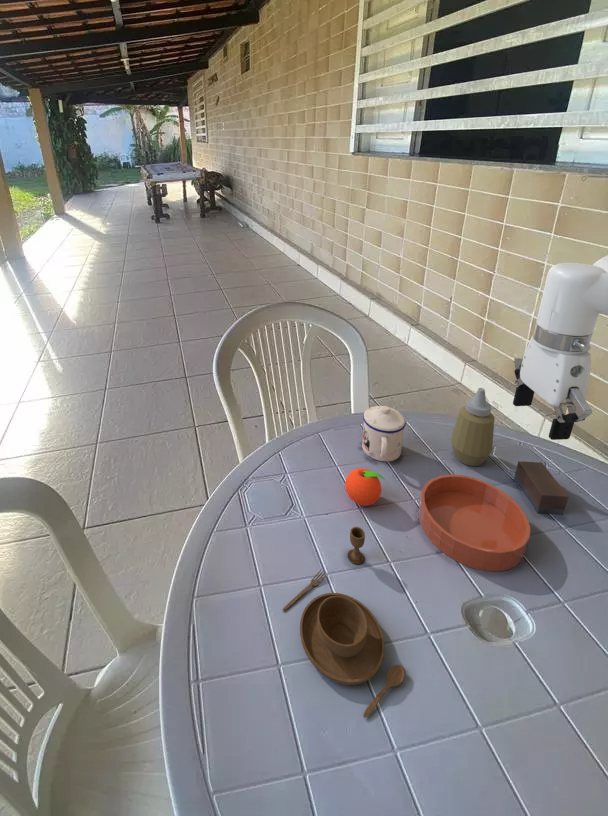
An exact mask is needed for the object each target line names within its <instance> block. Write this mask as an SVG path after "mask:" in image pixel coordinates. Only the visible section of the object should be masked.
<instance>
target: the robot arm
mask: <svg viewBox="0 0 608 816" xmlns="http://www.w3.org/2000/svg"><path fill="white" fill-rule="evenodd" d="M599 315H606V316H608V255H605V256H603V257H601V258H600V259H598V260H596V261H595V262H594V263H593V264H589V263H582V262H560V263H556V264H554V265H553V266H551V267H550V269H549V270H548V272H547V274H546V278H545V283H544V287H543V292H542V296H541V300H540V304H539V309H538V313H537V317H536V320H535V325H534V330H533V334H532V336H531V338H530V340H529V342H528V344H527V347H526V349H525V351H524V354H523V357H515V358H514V360H513V362H514V376H515V378H516V380H515V381H514V384H515V385H514V386H516V388H515V392H514V397H513V401H512V405H513V406H514V407H531V406H532V404H533V399H534V395H535V394H536V395H537V396H539V397H540V398H541V399H543V401H545V402H546V403H548V404H549V405H551V406H552V407H553V409H554V414H555V416H556V417H555V418H553V419H552V422H551V425H550V426H551V427H550V429H549V433H548V439H550V440H551V441H559V440H560V441H561V440H569V439H570V438H571V435H572V432H573V429H574V425H575V423H579V422H583V421H585V420H586V419H587V418H588V417H590V416H591V415H592V414H593V410H592V408H591V407H590V405H589V403H588V402H587V400H586V396H587V392H588V387H589V382H590V377H591V368H592V367H591V365H592V355H591V353H590V352H589V351H590V350H591V349H592V347H591V345H590V344H591V341H592V337H593V334H594V330H595V327H596V324H597V320H598V318H599V317H598V316H599ZM564 401H565V402H564ZM563 408H566V409H567V412H568V413H565V412H564V409H563Z"/></svg>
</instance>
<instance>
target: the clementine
mask: <svg viewBox="0 0 608 816" xmlns="http://www.w3.org/2000/svg"><path fill="white" fill-rule="evenodd" d="M379 478H380V479H383V480H384V481H386V479H385V477H384V476H382V475H381V474H380V473H377V472H376V471H372V470H371V469H368V468H364V467H359V468H355V469H353V470H351V471H349V473H348V474H347V476H346V478H345V482H344V486H345V487H344V488H345V492H346V494H347V496H348V497H349V498H350V500H351V501H353V502H354V503H355V504H357V505H360V506H363V507H364V506H365V507H366V506H371V505H374V504H375V503H377V501H378V500H379V499H380V497H381V495H382V484H381V481H380V479H379Z"/></svg>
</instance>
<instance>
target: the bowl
mask: <svg viewBox="0 0 608 816" xmlns="http://www.w3.org/2000/svg"><path fill="white" fill-rule="evenodd" d="M419 498H420V499H419V506H418V520H419V524H420V526H421V529H422V530H423V532H424V534H425V535H426V537H427V538H428V540H429V541H430V542H431V543H432V544H433V545H434V546H435V547H436V548H437V550H439V551H441V552H442V553H443V554H444V555H446V556H447V557H449V558H451V559H452V560H454V561H456V562H457V563H459V564H462V565H463V566H466V567H469V568H472V569H476V570H479V571H483V572H484V571H486V572H503V571H508V570H511V569H513V568H515V567H516V566H518V565H519V564H520V563H521V562H522V561H523V559H524V557H525V555H526V553H527V548H528V544H529V541H530V537H531V525H530V522H529V521H530V520H529V518H528V517H527V515H526V513H525V511H524V510H523V508H522V507H521V506H520V505H519V504H518V502H516V501H515V500H514V499H513V498H512V497H511V496H509V494H507V493H505V492H504V491H503V490H502V489H500V488H498V487H496V486H494V485H493V484H491V483H489V482H487V481H483V480H482V479H479V478H476V477H472V476H467V475H463V474H443V475H438V476H436V477H433V478H430V479H429V480H428V481H427V482H426V483H425V484H424V485H423V487H422V489H421V493H420V497H419Z"/></svg>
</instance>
